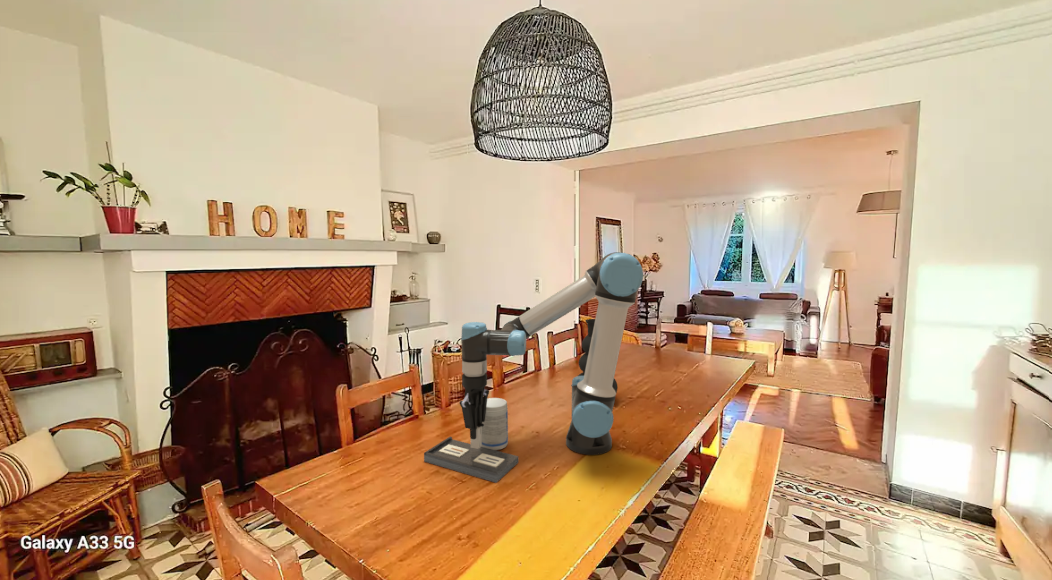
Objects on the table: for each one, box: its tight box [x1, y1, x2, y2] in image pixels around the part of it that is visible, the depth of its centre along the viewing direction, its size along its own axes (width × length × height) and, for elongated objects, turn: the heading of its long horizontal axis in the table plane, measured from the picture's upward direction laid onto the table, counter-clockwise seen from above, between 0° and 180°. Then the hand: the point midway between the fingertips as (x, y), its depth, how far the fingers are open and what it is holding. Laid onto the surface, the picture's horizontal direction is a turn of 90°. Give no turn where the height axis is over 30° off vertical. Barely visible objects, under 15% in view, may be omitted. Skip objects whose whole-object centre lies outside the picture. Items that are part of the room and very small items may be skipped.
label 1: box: [439, 444, 469, 457], centre depth 136 cm, size 8×5×1 cm, turn 62°
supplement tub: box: [480, 397, 509, 451], centre depth 144 cm, size 10×10×15 cm
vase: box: [577, 318, 618, 394], centre depth 183 cm, size 18×18×35 cm
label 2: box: [473, 453, 505, 467], centre depth 130 cm, size 8×5×1 cm, turn 62°
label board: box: [423, 436, 519, 484], centre depth 134 cm, size 26×13×3 cm, turn 62°
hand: (475, 447), depth 135 cm, fingers closed
